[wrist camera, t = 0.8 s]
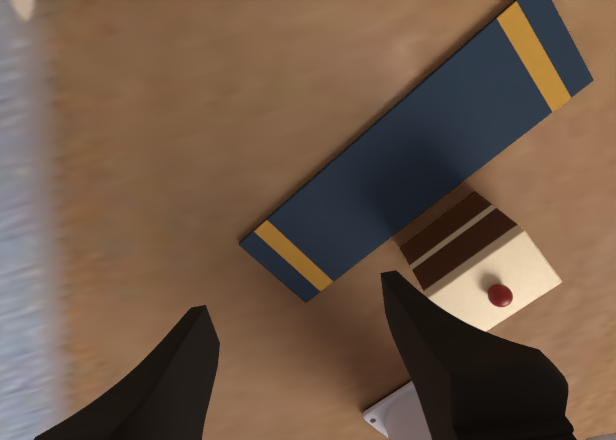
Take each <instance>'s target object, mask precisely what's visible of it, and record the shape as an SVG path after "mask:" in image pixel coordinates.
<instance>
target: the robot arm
mask: <svg viewBox="0 0 616 440" xmlns="http://www.w3.org/2000/svg"><path fill="white" fill-rule="evenodd" d="M381 281H382V289H383V297H384V306H385V314H386V317H387V320H388V324H389V327H390V330H391V333H392V336H393V339H394V341H395V343H396V346H397V348H398V350H399V352H400V355H401V357H402V359H403V361H404V364H405V366H406V368H407V370H408V373H409V375H410V377H411V379H412V381H411V382H409V383H408V384H406V385H405V386H403V387H401V388H400V389H398V390H397V391H395V392H394V393H392V394H391V395H389V396H387V397H386V398H384V399H383V400H381V401H380V402H378V403H377V404H375V405H373V406H372V407H370V408H369V409H367V410H366V411H364V412H363V419H364V420H365V421H366V422H368V423H369V424H370V425H372V426H373V427H374V428H375V429H377V430H378V431H379V432H381V433H382V434H383V435H385V436H386V437H387V438H388V439H389V440H577V439H576V438H575V436H574V435H573V434H572V433H573V431H574V429H573V426H572V424H571V423H570V422H569V420H568V419H567V418H566V416H565V411H566V405H567V398H568V383H567V381H566V379H565V377H564V376H563V375H562V373H561V372H560V371H559V370H558V369H557V367H556V366H555V365H554V364H553V363H552V362H551V361H550V360H549V359H548V358H547V357H546V356H545V355H544V354H543V353H542V352H541V351H540V350H538V349H535V348H532V347H528V346H525V345H521V344H518V343H514V342H511V341H508V340H506V339H503V338H500V337H497V336H495V335H492V334H490V333H487V332H485V331H483V330H481V329H478V328H476V327H474V326H472V325H470V324H468V323H466V322H464V321H462V320H460V319H459V318H457V317H455V316H453V315H452V314H450V313H448V312H447V311H445V310H444V309H442V308H441V307H439V306H438V305H437V304H435V303H434V302H432V301H431V300H430V299H428V298H427V297H426V296H425V295H423V294H422V293H421V292H420V291H418V290H417V289H416V288H415V287H414V286H413V285H411V284H410V283H409V282H408V281H407V280H406V279H405V278H404V277H403V276H402V275H401V274H400V273H399V272H397V271H396V270H395V271H390V272H384V273H381ZM219 347H220V342H219V340H218V337H217V334H216V332H215V329H214V326H213V323H212V321H211V318H210V315H209V313H208V310H207V307H206V305H203V306H198V307H192V308H190V309H189V311H188V312H187V313H186V314H185V315H184V316H183V317H182V318H181V319H180V321H179V322H178V323H177V324H176V325H175V326H174V328H173V329H172V330H171V331H170V332H169V333H168V334H167V336H166V337H165V338H164V339H163V340H162V341H161V342H160V343H159V344H158V345H157V346H156V347H155V349H154V350H153V351H152V352H151V353H150V354H149V355H148V356H147V357H146V358H145V359H144V360H143V361H142V362H141V363H140V364H139V365H138V366H137V367H136V368H134V369H133V370H132V371H131V372H130V373H129V374H128V375H127V376H125V377H124V378H123V379H122V380H121V381H120V382H118V383H117V384H116V385H114V386H113V387H112V388H111V389H109V390H108V391H107V392H105V393H104V394H103V395H102V396H100V397H99V398H98V399H96V400H95V401H93V402H92V403H90V404H89V405H88V406H86V407H85V408H83V409H82V410H80V411H79V412H77V413H76V414H74V415H72V416H71V417H69V418H68V419H66V420H64V421H63V422H61V423H59V424H58V425H56V426H54V427H52V428H51V429H49V430H47V431H45V432H44V433H42V434H40V435H38V436H37V437H35V439H34V440H202V434H203V427H204V422H205V417H206V413H207V409H208V405H209V401H210V397H211V392H212V388H213V384H214V380H215V376H216V371H217V367H218V358H219ZM586 440H616V433H613V434H607V435H601V436H595V437H591V438H588V439H586Z"/></svg>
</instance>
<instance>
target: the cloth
mask: <svg viewBox="0 0 616 440" xmlns="http://www.w3.org/2000/svg"><path fill="white" fill-rule="evenodd" d="M592 81H593V78H592V76H591V74H590V72H589V70H588V69H587V67H586V65H585V63H584V61H583V59H582V57H581V55H580V53H579V51H578V50H577V48H576V46H575V44H574V42H573V40H572V38H571V36H570V34H569V33H568V31H567V29H566V27H565V25H564V23H563V21H562V19H561V17H560V16H559V14H558V12H557V10H556V8H555V6H554V4H553V2H552V0H514V1H513V2H512V3H511V4H510V5H509V6H508V7H507V8H505V9H504V10H503V11H502V12H501V13H500V14H499V15H497V16H496V17H495V18H494V19H493V20H492V21H491V22H489V23H488V24H487V25H486V26H485V27H484V28H483V29H482V30H480V31H479V32H478V33H477V34H476V35H475V36H474V37H472V38H471V39H470V40H469V41H468V42H467V43H466V44H464V45H463V46H462V47H461V48H460V49H459V50H458V51H457V52H455V53H454V54H453V55H452V56H451V57H450V58H449V59H447V60H446V61H445V62H444V63H443V64H442V65H441V66H439V67H438V68H437V69H436V70H435V71H434V72H433V73H431V74H430V75H429V76H428V77H427V78H426V79H425V80H424V81H422V82H421V83H420V84H419V85H418V86H417V87H416V88H414V89H413V90H412V91H411V92H410V93H409V94H408V95H406V96H405V97H404V98H403V99H402V100H401V101H400V102H399V103H397V104H396V105H395V106H394V107H393V108H392V109H391V110H389V111H388V112H387V113H386V114H385V115H384V116H383V117H381V118H380V119H379V120H378V121H377V122H376V123H375V124H374V125H372V126H371V127H370V128H369V129H368V130H367V131H366V132H364V133H363V134H362V135H361V136H360V137H359V138H358V139H356V140H355V141H354V142H353V143H352V144H351V145H350V146H348V147H347V148H346V149H345V150H344V151H343V152H342V153H341V154H339V155H338V156H337V157H336V158H335V159H334V160H333V161H331V162H330V163H329V164H328V165H327V166H326V167H325V168H323V169H322V170H321V171H320V172H319V173H318V174H317V175H316V176H314V177H313V178H312V179H311V180H310V181H309V182H308V183H306V184H305V185H304V186H303V187H302V188H301V189H300V190H298V191H297V192H296V193H295V194H294V195H293V196H292V197H291V198H289V199H288V200H287V201H286V202H285V203H284V204H283V205H281V206H280V207H279V208H278V209H277V210H276V211H275V212H273V213H272V214H271V215H270V216H269V217H268V218H267V219H265V220H264V221H263V222H262V223H261V224H260V225H259V226H258V227H256V228H255V229H254V230H253V231H252V232H251V233H250V234H248V235H247V236H246V237H245V238H244V239H243V240H242V241H240V242H239V245H240V246H241V247H242V248H243V249H244V250H245V251H247V252H248V253H249V254H250V255H251V256H252V257H254V258H255V259H256V260H257V261H258V262H259V263H260V264H262V265H263V266H264V267H265V268H266V269H267V270H269V271H270V272H271V273H272V274H273V275H274V276H275V277H277V278H278V279H279V280H280V281H281V282H282V283H284V284H285V285H286V286H287V287H288V288H289V289H290V290H292V291H293V292H294V293H295V294H296V295H297V296H299V297H300V298H301V299H302V300H303V301H304V302H308V301H309V300H310V299H311V298H313V297H314V296H315V295H317V294H318V293H319V292H320V291H322V290H323V289H325V288H326V287H327V286H328V285H330V284H331V283H332V282H333V281H335V280H336V279H337V278H339V277H340V276H341V275H342V274H344V273H345V272H346V271H348V270H349V269H350V268H351V267H353V266H354V265H355V264H357V263H358V262H359V261H361V260H362V259H363V258H364V257H366V256H367V255H368V254H370V253H371V252H372V251H373V250H375V249H376V248H377V247H379V246H380V245H381V244H383V243H384V242H385V241H386V240H388V239H389V238H390V237H392V236H393V235H394V234H395V233H397V232H398V231H399V230H401V229H402V228H403V227H405V226H406V225H407V224H408V223H410V222H411V221H412V220H414V219H415V218H416V217H417V216H419V215H420V214H421V213H423V212H424V211H425V210H426V209H428V208H429V207H430V206H432V205H433V204H434V203H436V202H437V201H438V200H439V199H441V198H442V197H443V196H445V195H446V194H447V193H448V192H450V191H451V190H452V189H454V188H455V187H456V186H458V185H459V184H460V183H461V182H463V181H464V180H465V179H467V178H468V177H469V176H470V175H472V174H473V173H474V172H476V171H477V170H478V169H480V168H481V167H482V166H483V165H485V164H486V163H487V162H489V161H490V160H491V159H492V158H494V157H495V156H496V155H498V154H499V153H500V152H502V151H503V150H504V149H505V148H507V147H508V146H509V145H511V144H512V143H513V142H514V141H516V140H517V139H518V138H520V137H521V136H522V135H523V134H525V133H526V132H527V131H529V130H530V129H531V128H533V127H534V126H535V125H536V124H538V123H539V122H540V121H542V120H543V119H544V118H545V117H547V116H548V115H549V114H551V113H552V112H554V111H555V110H556V109H557V108H559V107H560V106H561V105H563V104H564V103H565V102H566V101H568V100H569V99H570V98H571V97H573V96H574V95H575V94H577V93H578V92H579V91H580V90H582V89H583V88H584V87H586V86H587V85H588V84H589V83H591V82H592Z"/></svg>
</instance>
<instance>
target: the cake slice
mask: <svg viewBox="0 0 616 440" xmlns="http://www.w3.org/2000/svg"><path fill="white" fill-rule="evenodd" d="M400 249H401V251H402V252H403V254H404V256H405V258H406V260H407V262H408V263H409V265H410V267H411V269H412V270H413V272H414V274H415V276H416V278H417V280H418V281H419V283H420V285H421V287H422V289H423V290H424V292H425V294H426V296H427V298H428V299H430V300H431V301H432V302H434V303H435V304H437V305H438V306H439V307H441V308H442V309H444V310H445V311H447V312H448V313H450V314H452V315H453V316H455V317H457V318H459V319H460V320H462V321H464V322H466V323H468V324H470V325H472V326H474V327H476V328H478V329H481V330H483V331H485V332H486V331H487V330H489V329H490V328H492V327H493V326H495V325H497V324H498V323H500V322H501V321H503V320H504V319H506V318H507V317H509V316H511V315H512V314H514V313H515V312H517V311H518V310H520V309H521V308H523V307H524V306H526V305H528V304H529V303H531V302H532V301H534V300H535V299H537V298H538V297H540V296H542V295H543V294H545V293H546V292H548V291H549V290H551V289H552V288H554V287H556V286H557V285H559V284H560V283H562V280H561V279H560V277H559V276H558V275H557V273H556V272H555V271H554V269H553V268H552V267H551V265H550V264H549V262H548V261H547V260H546V258H545V257H544V256H543V254H542V253H541V252H540V250H539V249H538V248H537V246H536V245H535V243H534V242H533V241H532V239H531V238H530V237H529V235H528V234H527V233H526V231H525V230H524V229H523V228H521V227H520V226H519V225H517V224H516V223H515V222H514V221H513V220H511V219H510V218H509V217H507V216H506V215H505V214H504V213H502V212H501V211H500V210H498V209H497V208H496V207H495V206H493V205H492V204H491V203H490V202H488V201H487V200H486V199H484V198H483V197H482V196H481V195H479V194H478V193H477V192H473V193H472V194H471V195H470V196H468V197H467V198H466V199H464V200H463V201H462V202H460V203H459V204H458V205H456V206H455V207H454V208H452V209H451V210H450V211H448V212H447V213H446V214H444V215H443V216H442V217H441V218H439V219H438V220H437V221H435V222H434V223H433V224H431V225H430V226H429V227H427V228H426V229H425V230H423V231H422V232H421V233H419V234H418V235H417V236H415V237H414V238H413V239H411V240H410V241H409V242H408V243H406V244H405V245H404V246H402V247H401V248H400Z"/></svg>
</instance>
